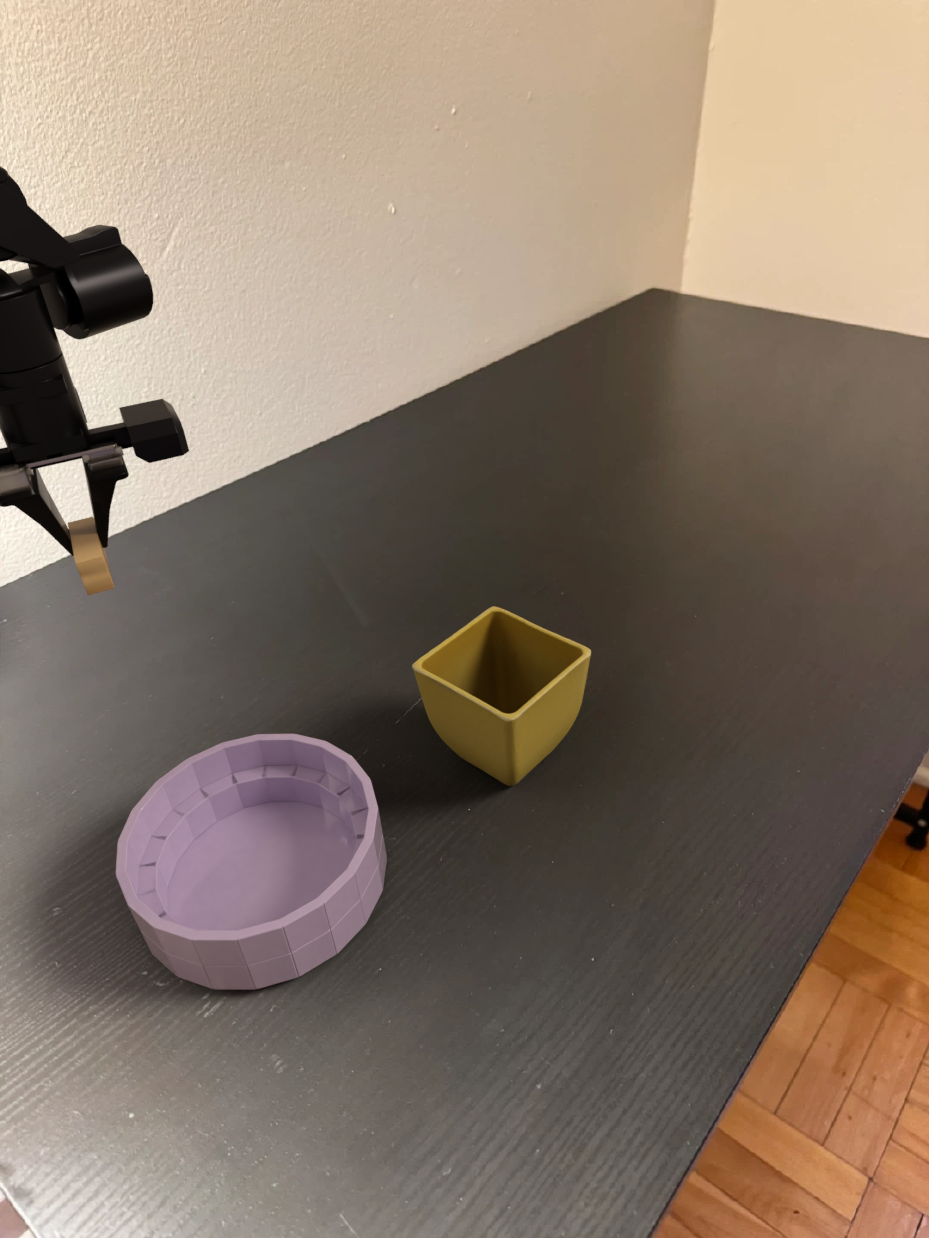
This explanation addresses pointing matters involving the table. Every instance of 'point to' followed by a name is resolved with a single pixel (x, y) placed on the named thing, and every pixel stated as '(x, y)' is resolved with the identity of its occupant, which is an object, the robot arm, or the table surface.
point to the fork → (90, 556)
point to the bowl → (253, 860)
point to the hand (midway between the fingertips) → (89, 549)
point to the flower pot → (503, 692)
